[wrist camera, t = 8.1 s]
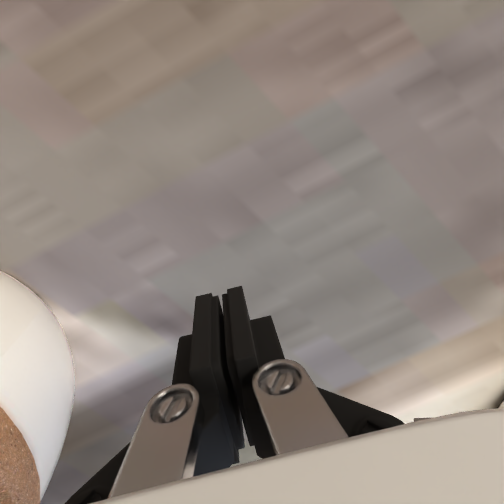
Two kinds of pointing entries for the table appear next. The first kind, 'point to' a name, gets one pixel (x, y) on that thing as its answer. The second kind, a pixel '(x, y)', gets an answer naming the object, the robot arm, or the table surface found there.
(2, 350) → the trinket box
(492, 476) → the robot arm
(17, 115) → the table surface
